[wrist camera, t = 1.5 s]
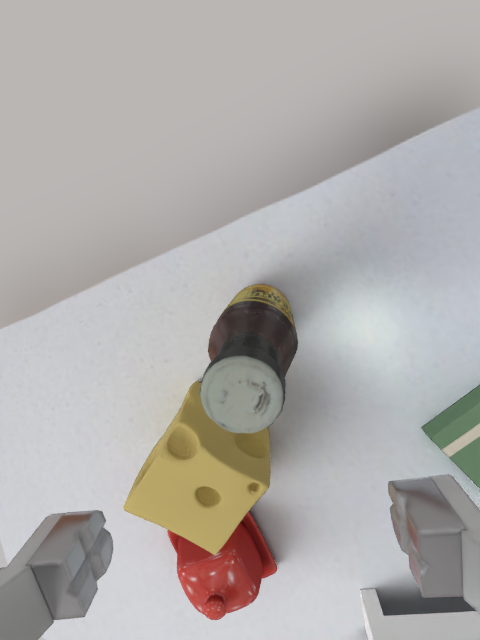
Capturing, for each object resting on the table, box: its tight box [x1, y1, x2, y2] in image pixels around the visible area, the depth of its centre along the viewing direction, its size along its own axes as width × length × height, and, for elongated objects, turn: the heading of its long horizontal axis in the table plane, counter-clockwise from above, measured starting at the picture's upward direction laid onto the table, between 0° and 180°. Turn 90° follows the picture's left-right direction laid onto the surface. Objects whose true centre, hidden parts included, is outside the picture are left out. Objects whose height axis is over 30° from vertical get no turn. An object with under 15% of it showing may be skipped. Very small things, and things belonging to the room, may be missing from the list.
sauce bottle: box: [200, 284, 298, 433], centre depth 24 cm, size 6×6×20 cm
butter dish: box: [168, 511, 277, 620], centre depth 38 cm, size 12×12×8 cm
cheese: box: [124, 381, 270, 555], centre depth 33 cm, size 10×11×10 cm
